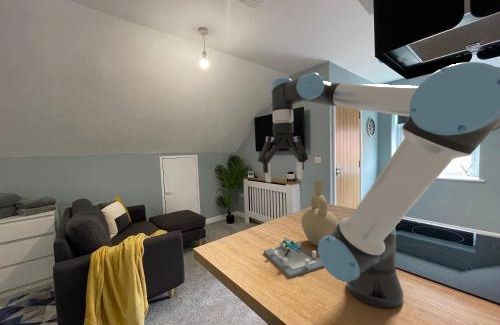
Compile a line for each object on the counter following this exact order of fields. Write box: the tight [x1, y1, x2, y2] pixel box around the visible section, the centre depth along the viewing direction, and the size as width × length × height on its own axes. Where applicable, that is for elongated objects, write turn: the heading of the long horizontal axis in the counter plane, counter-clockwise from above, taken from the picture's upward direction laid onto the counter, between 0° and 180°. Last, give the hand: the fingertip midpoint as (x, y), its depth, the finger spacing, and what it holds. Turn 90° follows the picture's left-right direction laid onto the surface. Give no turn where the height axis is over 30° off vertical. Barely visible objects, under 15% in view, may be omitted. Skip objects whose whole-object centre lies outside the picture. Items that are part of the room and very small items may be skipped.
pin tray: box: [263, 240, 325, 279], centre depth 87 cm, size 21×17×4 cm
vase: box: [300, 181, 339, 247], centre depth 100 cm, size 17×17×30 cm
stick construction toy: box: [282, 237, 301, 257], centre depth 90 cm, size 12×7×8 cm
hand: (284, 180), depth 77 cm, fingers open, 13 cm apart
